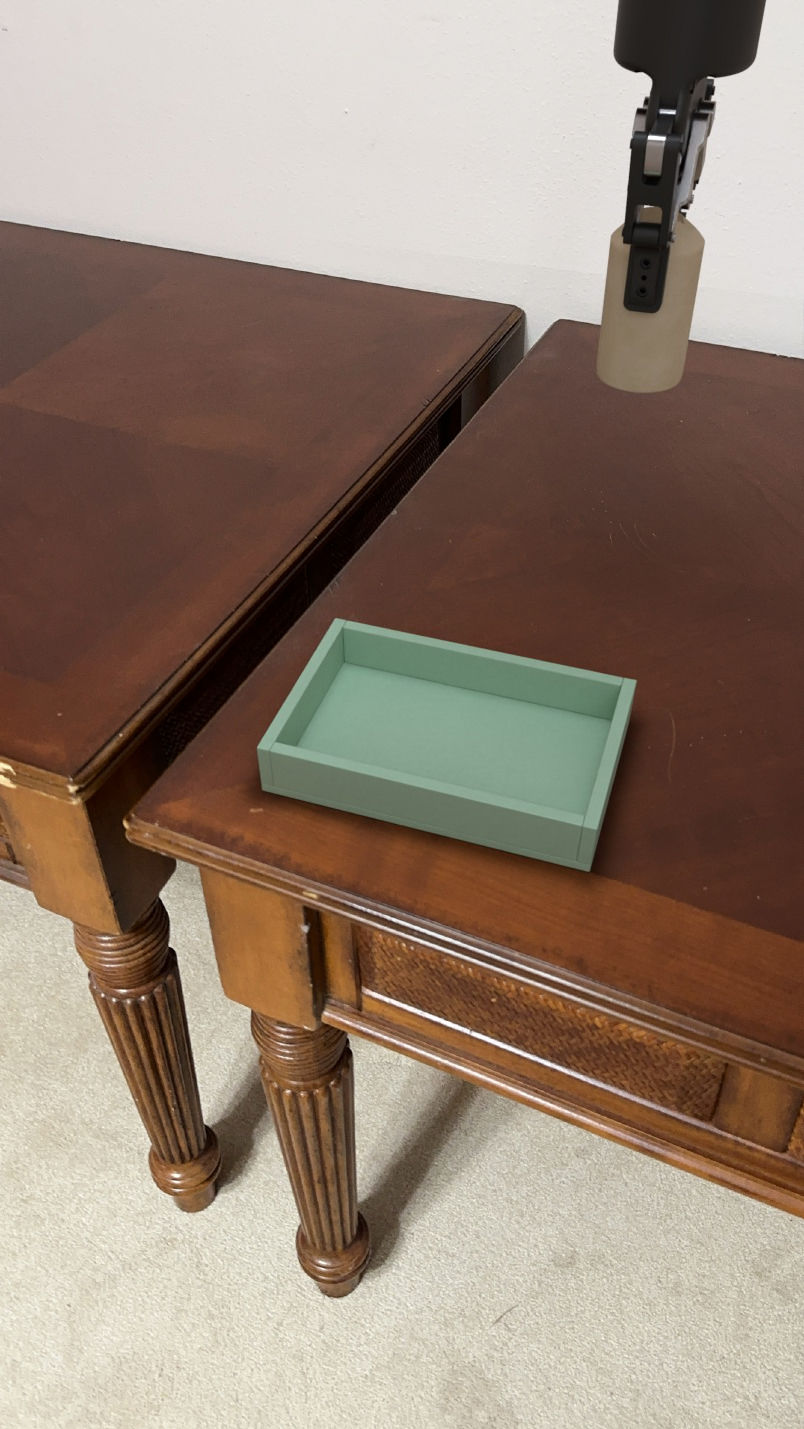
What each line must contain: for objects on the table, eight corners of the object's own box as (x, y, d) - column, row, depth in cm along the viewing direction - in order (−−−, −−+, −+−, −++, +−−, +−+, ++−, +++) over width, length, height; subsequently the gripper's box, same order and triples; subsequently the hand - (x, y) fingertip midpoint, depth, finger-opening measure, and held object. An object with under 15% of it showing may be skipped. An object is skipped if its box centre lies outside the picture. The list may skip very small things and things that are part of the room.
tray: (628, 722, 69) (637, 679, 67) (589, 872, 60) (597, 829, 58) (337, 659, 74) (335, 617, 71) (261, 790, 65) (256, 747, 63)
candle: (688, 394, 69) (717, 228, 62) (600, 394, 69) (619, 228, 62) (675, 356, 73) (700, 197, 66) (591, 356, 73) (608, 197, 66)
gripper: (758, -13, 50) (696, 346, 61) (785, -59, 60) (727, 257, 72) (595, -21, 52) (564, 329, 63) (647, -63, 62) (612, 245, 73)
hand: (650, 289), depth 67 cm, fingers closed on candle, 5 cm apart
